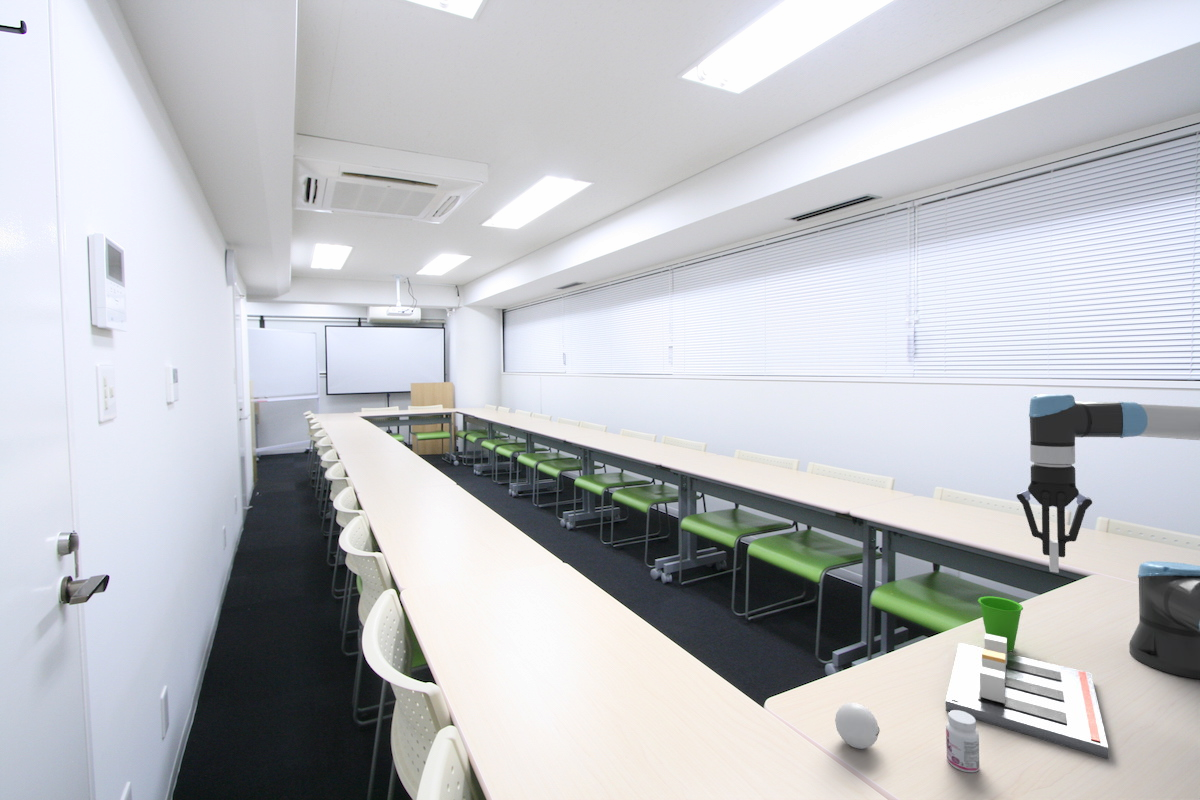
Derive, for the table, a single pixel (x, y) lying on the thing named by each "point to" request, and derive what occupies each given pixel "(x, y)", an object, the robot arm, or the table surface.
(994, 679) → the block
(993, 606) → the cup
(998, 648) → the block
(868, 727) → the white oval ovoid
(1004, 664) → the block
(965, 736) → the pill bottle
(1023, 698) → the panel
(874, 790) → the table surface
